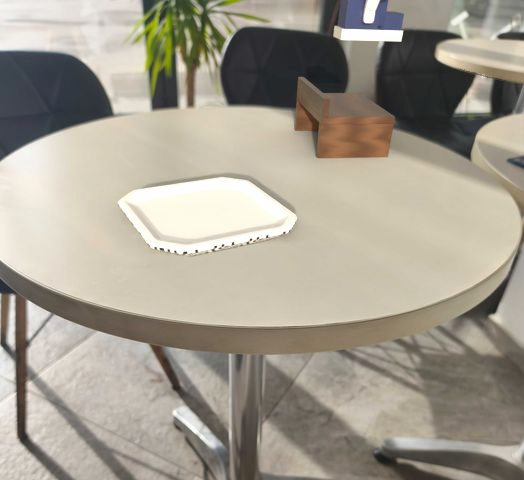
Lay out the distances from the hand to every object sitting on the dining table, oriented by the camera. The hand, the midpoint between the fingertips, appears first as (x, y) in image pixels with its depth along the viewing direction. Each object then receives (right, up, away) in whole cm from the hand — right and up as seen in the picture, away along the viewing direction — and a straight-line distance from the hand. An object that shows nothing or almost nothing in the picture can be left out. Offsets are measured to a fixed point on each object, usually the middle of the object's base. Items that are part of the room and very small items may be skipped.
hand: (361, 21), depth 85 cm
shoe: (+1, -2, +2) cm, 3 cm away
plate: (-25, -39, -16) cm, 49 cm away
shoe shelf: (-2, -14, +17) cm, 22 cm away
